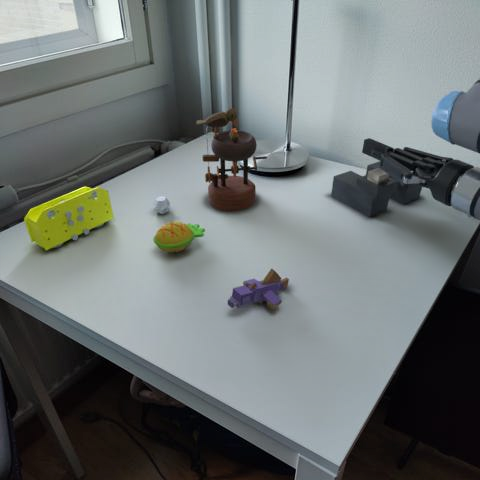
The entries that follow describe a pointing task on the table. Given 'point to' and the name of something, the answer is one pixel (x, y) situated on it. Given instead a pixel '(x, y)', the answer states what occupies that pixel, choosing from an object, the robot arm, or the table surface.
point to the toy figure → (259, 291)
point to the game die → (161, 205)
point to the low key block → (400, 188)
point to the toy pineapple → (177, 236)
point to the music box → (232, 149)
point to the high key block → (363, 192)
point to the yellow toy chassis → (68, 216)
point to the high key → (377, 176)
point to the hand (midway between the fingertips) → (365, 145)
